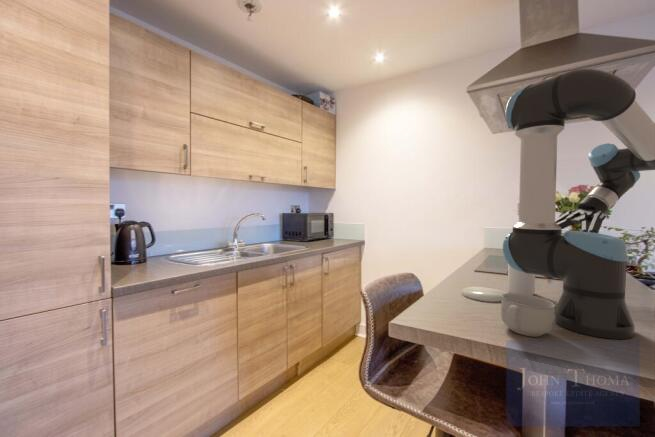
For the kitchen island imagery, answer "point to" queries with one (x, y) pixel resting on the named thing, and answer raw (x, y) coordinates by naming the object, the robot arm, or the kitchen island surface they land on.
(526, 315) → the teacup
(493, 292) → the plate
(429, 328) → the kitchen island surface
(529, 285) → the pill bottle
